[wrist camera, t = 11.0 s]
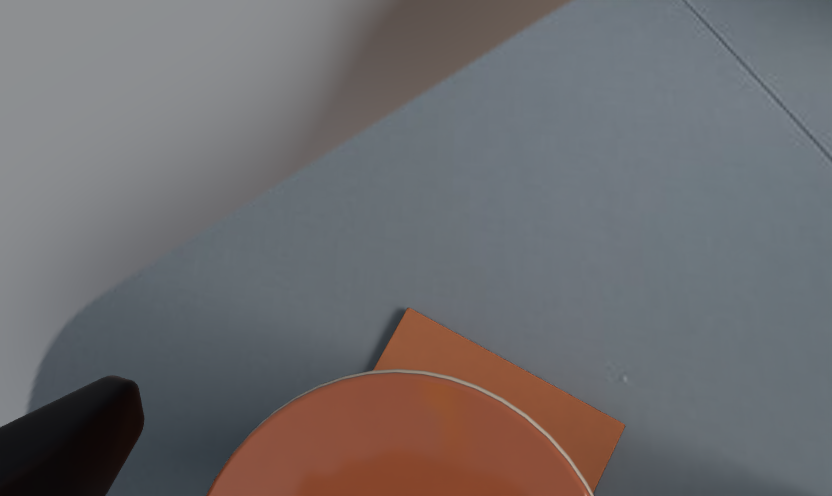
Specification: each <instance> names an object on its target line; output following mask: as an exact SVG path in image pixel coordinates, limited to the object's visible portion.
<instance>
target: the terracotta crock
mask: <svg viewBox="0 0 832 496" xmlns="http://www.w3.org/2000/svg"><path fill="white" fill-rule="evenodd" d="M206 496H594V495H593V493H592V491H591V489H590V487H589V485H588V483H587V482H586V480H585V479H584V477H583V476H582V474H581V473H580V471H579V470H578V468H577V467H576V466H575V464H574V463H573V461H572V460H571V458H570V457H569V456H568V455H567V453H566V452H565V451H564V450H563V449H562V448H561V447H560V446H559V444H558V443H557V442H556V441H555V440H554V439H553V438H552V437H551V435H550V434H549V433H548V432H546V431H545V430H544V429H543V428H542V427H541V426H540V425H538V424H537V423H536V422H535V421H534V420H533V419H532V418H530V417H529V416H528V415H527V414H526V413H524V412H523V411H521V410H520V409H518V408H517V407H515V406H514V405H512V404H511V403H509V402H508V401H506V400H505V399H503V398H502V397H500V396H498V395H496V394H494V393H492V392H490V391H488V390H486V389H484V388H482V387H480V386H478V385H475V384H472V383H469V382H466V381H464V380H461V379H458V378H455V377H452V376H448V375H443V374H438V373H433V372H428V371H420V370H406V369H389V370H374V371H367V372H362V373H357V374H352V375H348V376H344V377H341V378H338V379H335V380H332V381H329V382H326V383H323V384H321V385H318V386H316V387H314V388H312V389H310V390H308V391H306V392H304V393H302V394H300V395H298V396H296V397H295V398H293V399H292V400H290V401H289V402H287V403H286V404H284V405H283V406H281V407H280V408H279V409H277V410H276V411H274V412H273V413H272V414H270V415H269V416H268V417H267V418H266V419H265V420H264V421H263V422H261V423H260V424H259V425H258V426H257V427H256V428H255V429H253V430H252V431H251V433H250V434H249V435H248V436H247V437H246V438H245V439H244V441H243V442H242V443H241V444H240V445H239V446H238V447H237V448H236V450H235V451H234V452H233V453H232V454H231V456H230V457H229V459H228V460H227V462H226V463H225V465H224V466H223V467H222V469H221V470H220V472H219V473H218V475H217V476H216V478H215V479H214V481H213V483H212V485H211V487H210V489H209V491H208V493H207V494H206Z"/></svg>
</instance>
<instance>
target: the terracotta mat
mask: <svg viewBox="0 0 832 496" xmlns="http://www.w3.org/2000/svg"><path fill="white" fill-rule="evenodd" d="M389 369H406V370H420V371H428V372H433V373H438V374H443V375H448V376H452V377H455V378H458V379H461V380H464V381H466V382H469V383H472V384H475V385H478V386H480V387H482V388H484V389H486V390H488V391H490V392H492V393H494V394H496V395H498V396H500V397H502V398H503V399H505V400H506V401H508V402H509V403H511V404H512V405H514V406H515V407H517V408H518V409H520V410H521V411H523V412H524V413H526V414H527V415H528V416H529V417H530V418H532V419H533V420H534V421H535V422H536V423H537V424H538V425H540V426H541V427H542V428H543V429H544V430H545V431H546V432H548V433H549V434H550V435H551V437H552V438H553V439H554V440H555V441H556V442H557V443H558V444H559V446H560V447H561V448H562V449H563V450H564V451H565V452H566V453H567V455H568V456H569V457H570V458H571V460H572V461H573V463H574V464H575V466H576V467H577V468H578V470H579V471H580V473H581V474H582V476H583V477H584V479H585V480H586V482H587V483H588V485H589V487H590V489H591V491H592V493H593V492H594V490H595V488H596V486H597V484H598V482H599V480H600V478H601V476H602V474H603V471H604V469H605V467H606V465H607V463H608V461H609V459H610V457H611V455H612V453H613V451H614V449H615V446H616V444H617V442H618V440H619V438H620V436H621V434H622V432H623V430H624V428H625V424H623V423H621V422H619V421H618V420H616V419H614V418H612V417H610V416H608V415H607V414H605V413H603V412H601V411H599V410H597V409H595V408H594V407H592V406H590V405H588V404H586V403H584V402H583V401H581V400H579V399H577V398H575V397H573V396H571V395H570V394H568V393H566V392H564V391H562V390H560V389H558V388H557V387H555V386H553V385H551V384H549V383H547V382H546V381H544V380H542V379H540V378H538V377H536V376H534V375H533V374H531V373H529V372H527V371H525V370H523V369H522V368H520V367H518V366H516V365H514V364H512V363H510V362H509V361H507V360H505V359H503V358H501V357H499V356H498V355H496V354H494V353H492V352H490V351H488V350H486V349H485V348H483V347H481V346H479V345H477V344H475V343H473V342H472V341H470V340H468V339H466V338H464V337H462V336H461V335H459V334H457V333H455V332H453V331H451V330H449V329H448V328H446V327H444V326H442V325H440V324H438V323H437V322H435V321H433V320H431V319H429V318H427V317H425V316H424V315H422V314H420V313H418V312H416V311H414V310H413V309H411V308H407V310H406V312H405V313H404V315H403V317H402V319H401V321H400V322H399V324H398V326H397V328H396V330H395V332H394V333H393V335H392V337H391V339H390V341H389V342H388V344H387V346H386V348H385V350H384V351H383V353H382V355H381V357H380V359H379V360H378V362H377V364H376V366H375V368H374V370H389ZM374 370H373V371H374Z"/></svg>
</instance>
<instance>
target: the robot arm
mask: <svg viewBox="0 0 832 496" xmlns="http://www.w3.org/2000/svg"><path fill="white" fill-rule="evenodd" d="M143 426H144V413H143V408H142V402H141V397H140V392H139V388H138V385H137V384H136V383H135V382H134V381H132V380H128V379H125V378H121V377H118V376H106V377H104V378H101V379H99V380H97V381H95V382H93V383H91V384H89V385H87V386H85V387H83V388H81V389H78V390H76V391H74V392H72V393H70V394H68V395H66V396H64V397H62V398H60V399H58V400H56V401H54V402H52V403H50V404H47V405H45V406H43V407H41V408H39V409H37V410H35V411H33V412H31V413H29V414H27V415H25V416H23V417H21V418H18V419H16V420H14V421H13V422H10V423H8V424H6V425H4V426H2V427H0V496H106V494H107V492H108V490H109V489H110V487H111V485H112V484H113V482H114V480H115V478H116V477H117V475H118V473H119V471H120V470H121V468H122V466H123V464H124V463H125V461H126V459H127V457H128V456H129V454H130V452H131V450H132V449H133V447H134V445H135V443H136V442H137V440H138V438H139V436H140V435H141V432H142V430H143Z"/></svg>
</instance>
